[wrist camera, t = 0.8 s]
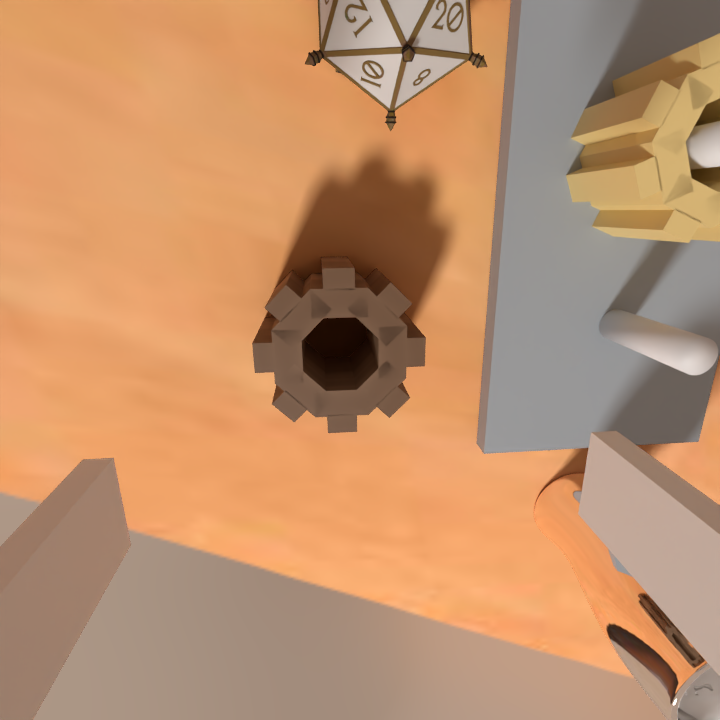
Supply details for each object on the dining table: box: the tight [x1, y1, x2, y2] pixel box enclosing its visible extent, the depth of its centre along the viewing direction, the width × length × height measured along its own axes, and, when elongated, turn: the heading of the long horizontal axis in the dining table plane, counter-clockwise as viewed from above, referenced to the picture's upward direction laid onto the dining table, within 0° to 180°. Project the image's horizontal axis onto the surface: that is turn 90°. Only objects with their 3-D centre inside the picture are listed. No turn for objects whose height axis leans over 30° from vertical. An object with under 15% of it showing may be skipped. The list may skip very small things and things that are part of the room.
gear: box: [566, 33, 720, 243], centre depth 24 cm, size 9×9×6 cm
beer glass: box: [534, 473, 720, 720], centre depth 29 cm, size 7×7×15 cm
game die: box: [305, 0, 487, 131], centre depth 21 cm, size 9×8×10 cm
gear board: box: [477, 0, 720, 454], centre depth 26 cm, size 28×16×8 cm, turn 1°
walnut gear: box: [252, 257, 426, 433], centre depth 27 cm, size 9×9×6 cm
